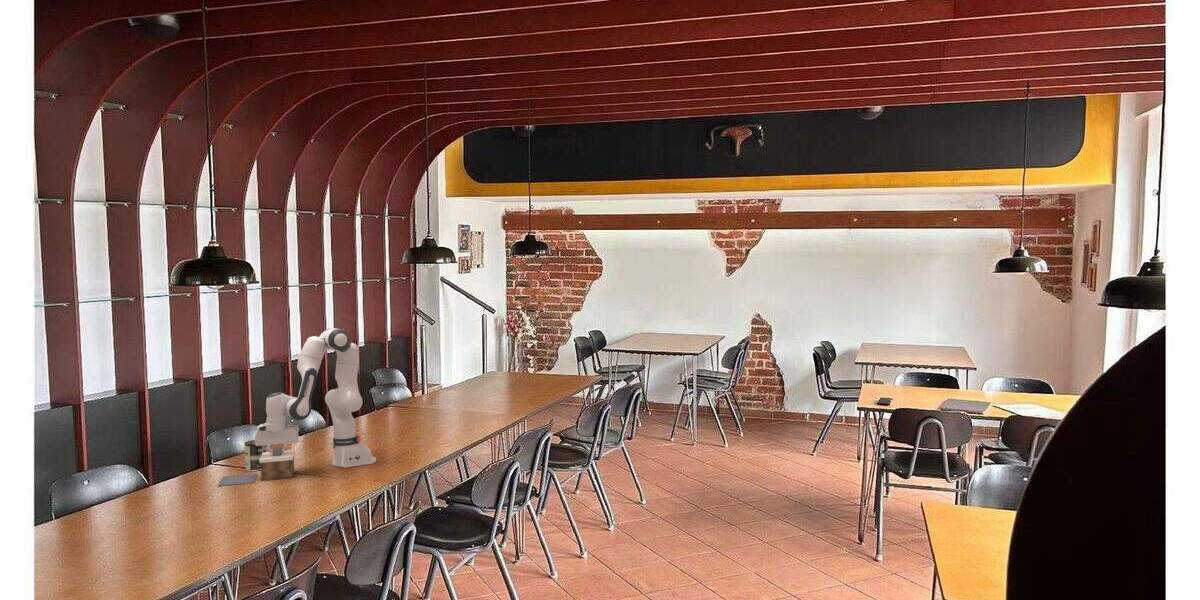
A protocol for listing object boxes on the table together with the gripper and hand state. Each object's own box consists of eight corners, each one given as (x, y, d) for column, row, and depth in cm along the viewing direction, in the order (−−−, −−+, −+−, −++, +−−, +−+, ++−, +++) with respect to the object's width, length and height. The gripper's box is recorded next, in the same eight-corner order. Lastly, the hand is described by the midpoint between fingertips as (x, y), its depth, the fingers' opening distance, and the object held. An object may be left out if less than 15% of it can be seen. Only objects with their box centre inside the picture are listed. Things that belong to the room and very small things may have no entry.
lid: (294, 452, 394) (294, 444, 394) (292, 459, 380) (292, 450, 380) (262, 455, 390) (262, 446, 390) (259, 462, 376) (259, 453, 375)
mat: (257, 474, 388) (257, 473, 388) (254, 483, 373) (254, 482, 373) (222, 477, 383) (222, 476, 383) (217, 486, 368) (217, 485, 368)
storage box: (294, 470, 394) (293, 453, 394) (292, 477, 381) (291, 459, 380) (264, 473, 390) (263, 455, 389) (261, 480, 377) (260, 462, 376)
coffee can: (271, 466, 403) (270, 439, 402) (258, 471, 393) (257, 444, 392) (253, 465, 405) (252, 439, 404) (241, 470, 395) (239, 443, 394)
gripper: (299, 422, 390) (300, 449, 391) (255, 425, 384) (256, 453, 385) (298, 425, 384) (299, 452, 385) (253, 428, 378) (254, 456, 379)
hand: (277, 452), depth 385 cm, fingers closed on lid, 4 cm apart
